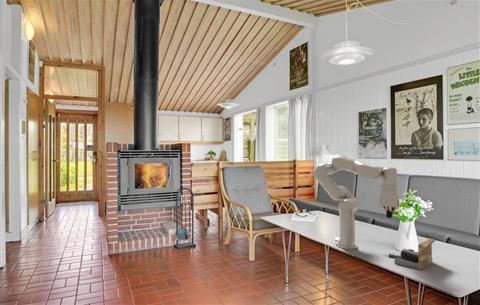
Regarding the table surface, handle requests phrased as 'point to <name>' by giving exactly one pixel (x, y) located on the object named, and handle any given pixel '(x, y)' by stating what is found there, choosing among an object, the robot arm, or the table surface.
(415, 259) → the end cap
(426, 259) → the wall board
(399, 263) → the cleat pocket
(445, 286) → the table surface
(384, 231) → the table surface
